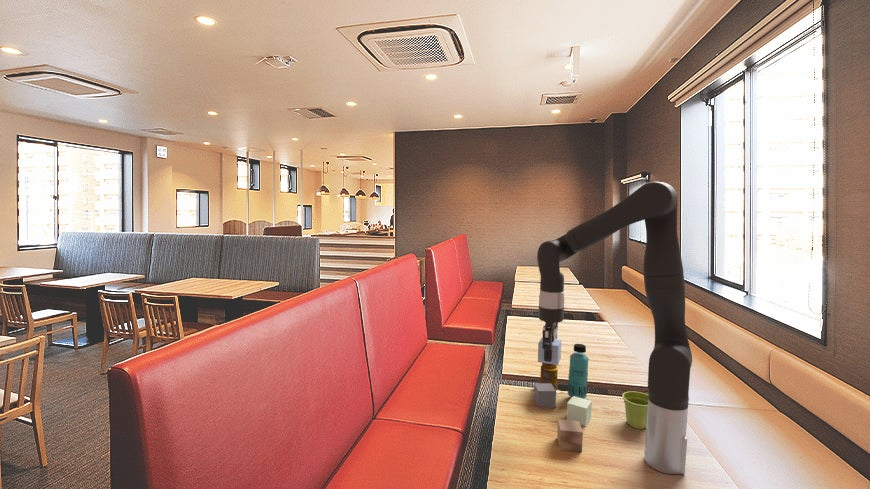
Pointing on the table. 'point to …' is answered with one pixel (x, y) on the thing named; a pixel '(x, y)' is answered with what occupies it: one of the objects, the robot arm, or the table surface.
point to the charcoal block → (544, 395)
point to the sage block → (579, 410)
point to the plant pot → (636, 408)
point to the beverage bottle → (578, 372)
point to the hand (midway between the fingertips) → (549, 357)
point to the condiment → (549, 375)
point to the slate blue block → (555, 352)
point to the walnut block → (569, 435)
